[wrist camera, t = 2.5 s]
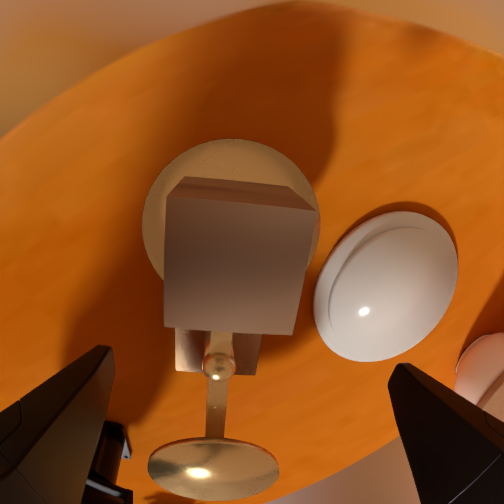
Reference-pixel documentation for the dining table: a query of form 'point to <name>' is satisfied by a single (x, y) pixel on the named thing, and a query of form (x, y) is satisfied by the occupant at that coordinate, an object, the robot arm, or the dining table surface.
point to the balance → (217, 343)
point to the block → (235, 256)
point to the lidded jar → (483, 374)
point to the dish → (385, 286)
